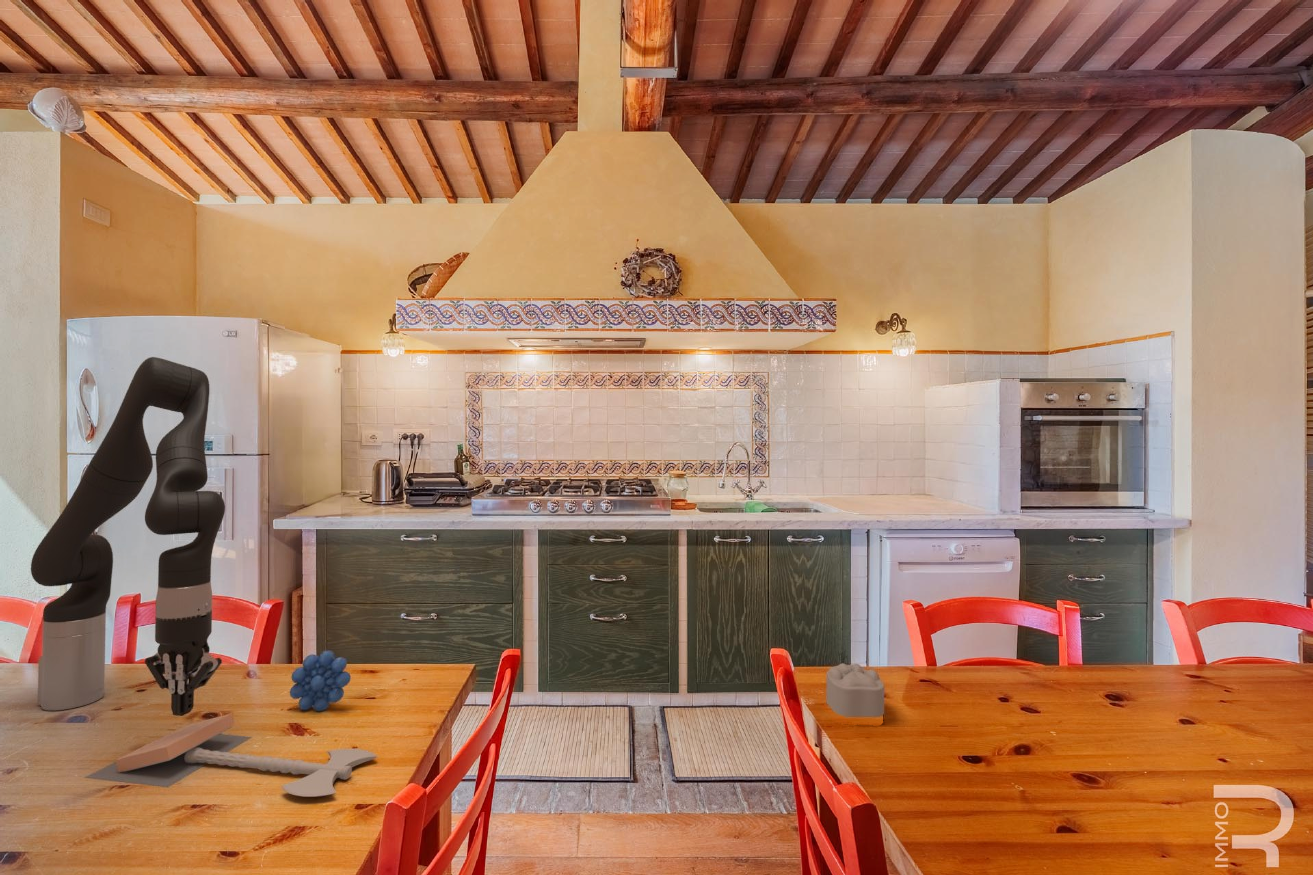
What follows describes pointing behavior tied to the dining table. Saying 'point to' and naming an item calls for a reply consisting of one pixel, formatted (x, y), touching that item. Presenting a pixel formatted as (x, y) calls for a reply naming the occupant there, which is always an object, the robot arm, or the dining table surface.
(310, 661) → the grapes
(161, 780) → the mat
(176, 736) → the tile
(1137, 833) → the dining table surface
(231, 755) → the double-bladed axe
